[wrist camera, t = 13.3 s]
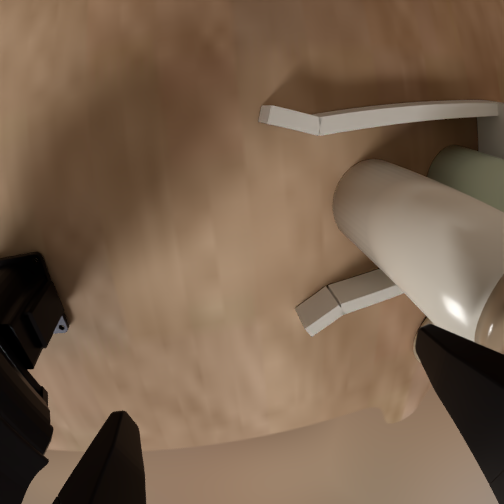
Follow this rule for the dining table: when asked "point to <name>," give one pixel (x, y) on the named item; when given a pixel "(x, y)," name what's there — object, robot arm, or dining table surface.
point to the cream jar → (429, 245)
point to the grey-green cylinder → (471, 174)
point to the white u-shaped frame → (487, 112)
